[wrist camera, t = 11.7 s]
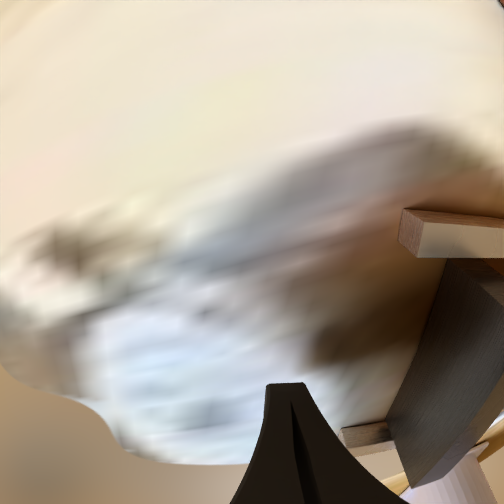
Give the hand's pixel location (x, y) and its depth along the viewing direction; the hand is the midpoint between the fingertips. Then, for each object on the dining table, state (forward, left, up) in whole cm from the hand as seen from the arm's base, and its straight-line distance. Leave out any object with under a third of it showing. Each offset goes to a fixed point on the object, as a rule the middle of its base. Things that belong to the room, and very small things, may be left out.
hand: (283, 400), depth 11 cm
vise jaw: (0, -12, -2) cm, 13 cm away
